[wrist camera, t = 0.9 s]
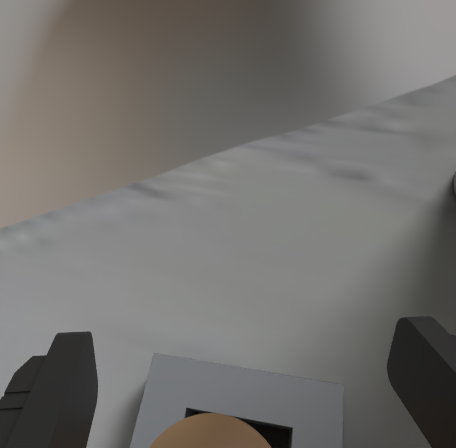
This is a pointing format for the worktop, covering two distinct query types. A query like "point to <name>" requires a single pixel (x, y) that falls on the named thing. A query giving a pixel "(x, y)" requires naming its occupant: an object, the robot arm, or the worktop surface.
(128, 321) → the worktop surface
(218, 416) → the dowel
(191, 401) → the socket block
